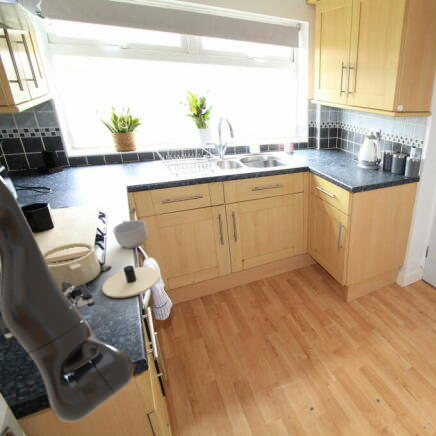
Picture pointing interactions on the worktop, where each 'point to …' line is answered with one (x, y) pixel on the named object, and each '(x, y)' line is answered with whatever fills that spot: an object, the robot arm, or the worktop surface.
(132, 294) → the pot lid
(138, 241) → the teacup
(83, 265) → the pot
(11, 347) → the worktop surface
